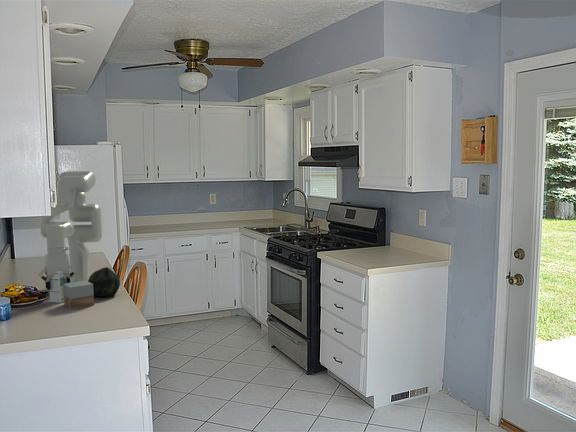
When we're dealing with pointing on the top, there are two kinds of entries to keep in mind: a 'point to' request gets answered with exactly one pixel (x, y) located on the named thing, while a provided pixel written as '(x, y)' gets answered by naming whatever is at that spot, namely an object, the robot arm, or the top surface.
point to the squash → (104, 282)
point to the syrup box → (57, 287)
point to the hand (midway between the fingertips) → (58, 288)
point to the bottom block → (79, 302)
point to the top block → (78, 289)
